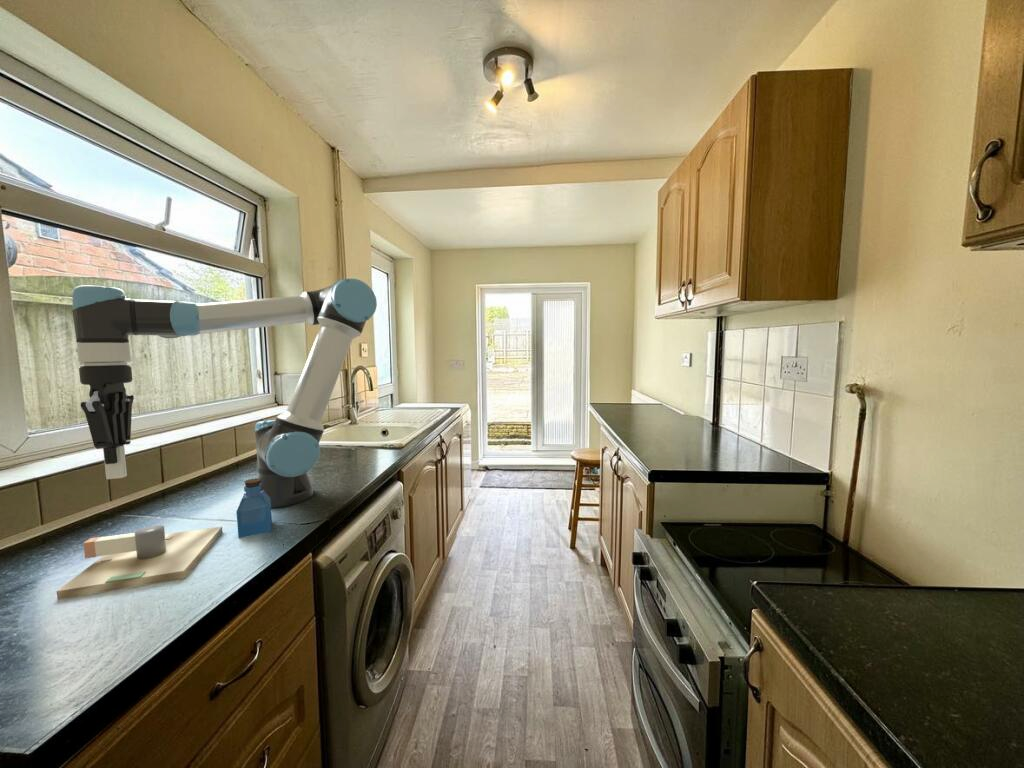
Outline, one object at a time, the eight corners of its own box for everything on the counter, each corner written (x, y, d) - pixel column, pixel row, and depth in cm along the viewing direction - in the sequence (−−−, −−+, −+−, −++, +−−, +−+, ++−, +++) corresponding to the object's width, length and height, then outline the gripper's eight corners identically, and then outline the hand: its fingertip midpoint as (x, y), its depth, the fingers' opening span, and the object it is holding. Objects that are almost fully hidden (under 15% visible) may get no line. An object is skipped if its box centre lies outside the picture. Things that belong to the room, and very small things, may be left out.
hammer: (170, 547, 84) (168, 523, 83) (159, 557, 79) (157, 532, 79) (96, 557, 80) (94, 533, 79) (81, 568, 76) (78, 543, 75)
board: (222, 532, 93) (221, 525, 93) (184, 578, 74) (183, 569, 74) (125, 546, 87) (124, 538, 87) (57, 599, 69) (56, 590, 68)
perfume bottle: (238, 538, 90) (234, 486, 89) (242, 527, 96) (238, 479, 95) (270, 532, 93) (266, 482, 92) (271, 522, 99) (268, 474, 98)
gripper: (102, 363, 86) (113, 470, 88) (57, 365, 74) (70, 490, 76) (145, 363, 89) (155, 467, 91) (109, 364, 76) (120, 485, 78)
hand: (116, 477), depth 83 cm, fingers closed
